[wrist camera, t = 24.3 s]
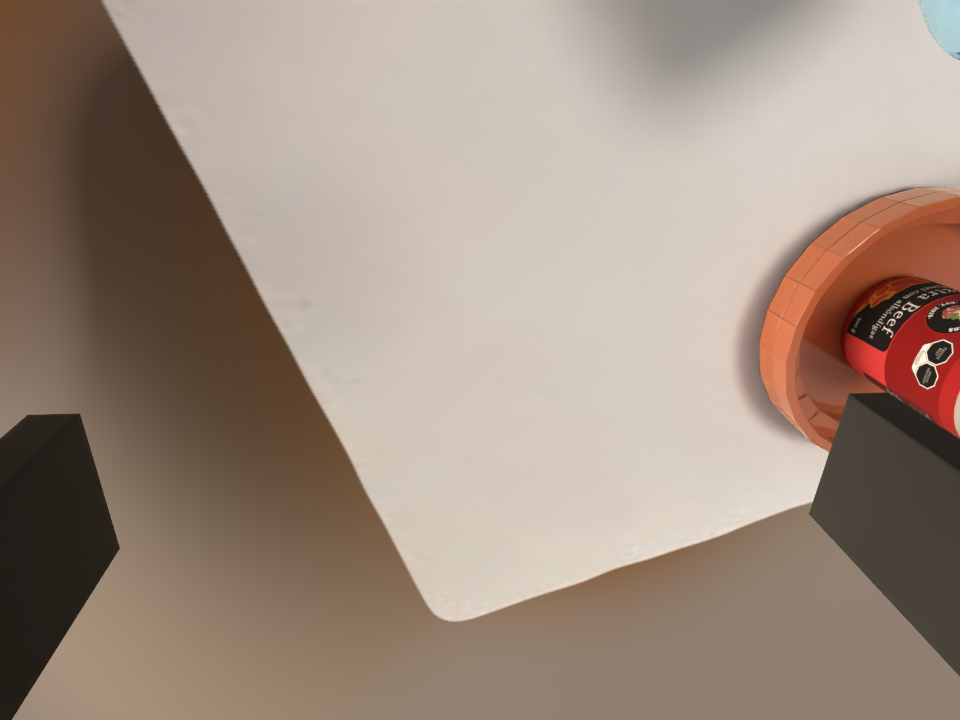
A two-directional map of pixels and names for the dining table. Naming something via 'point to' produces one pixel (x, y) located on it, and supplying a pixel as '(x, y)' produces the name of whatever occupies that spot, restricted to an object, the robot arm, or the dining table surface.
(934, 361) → the canned food
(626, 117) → the dining table surface
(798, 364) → the bowl
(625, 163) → the dining table surface
